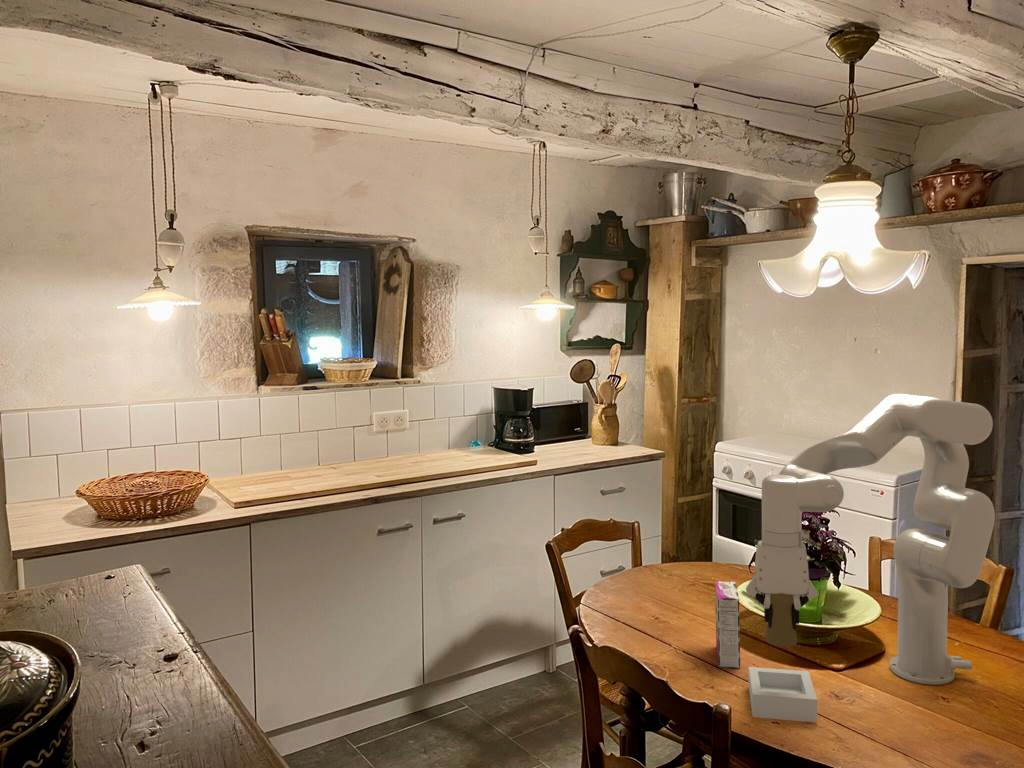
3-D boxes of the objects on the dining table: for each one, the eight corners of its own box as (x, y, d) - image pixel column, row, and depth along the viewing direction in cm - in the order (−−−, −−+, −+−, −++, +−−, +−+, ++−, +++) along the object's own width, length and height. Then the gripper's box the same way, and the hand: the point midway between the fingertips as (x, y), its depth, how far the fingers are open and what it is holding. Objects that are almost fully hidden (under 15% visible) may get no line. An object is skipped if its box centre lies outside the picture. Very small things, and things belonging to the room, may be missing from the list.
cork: (771, 632, 160) (772, 580, 159) (801, 639, 156) (801, 586, 155) (760, 642, 155) (760, 589, 154) (790, 649, 151) (790, 595, 150)
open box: (808, 694, 161) (808, 671, 161) (817, 724, 150) (817, 699, 149) (748, 689, 164) (748, 666, 164) (752, 718, 152) (752, 694, 152)
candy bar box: (714, 646, 184) (714, 580, 183) (736, 647, 183) (736, 581, 182) (717, 667, 174) (717, 597, 172) (740, 669, 173) (740, 598, 171)
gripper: (823, 533, 155) (822, 621, 157) (737, 530, 159) (737, 616, 161) (829, 544, 148) (828, 636, 150) (738, 541, 152) (739, 630, 154)
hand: (781, 625), depth 155 cm, fingers closed on cork, 3 cm apart
